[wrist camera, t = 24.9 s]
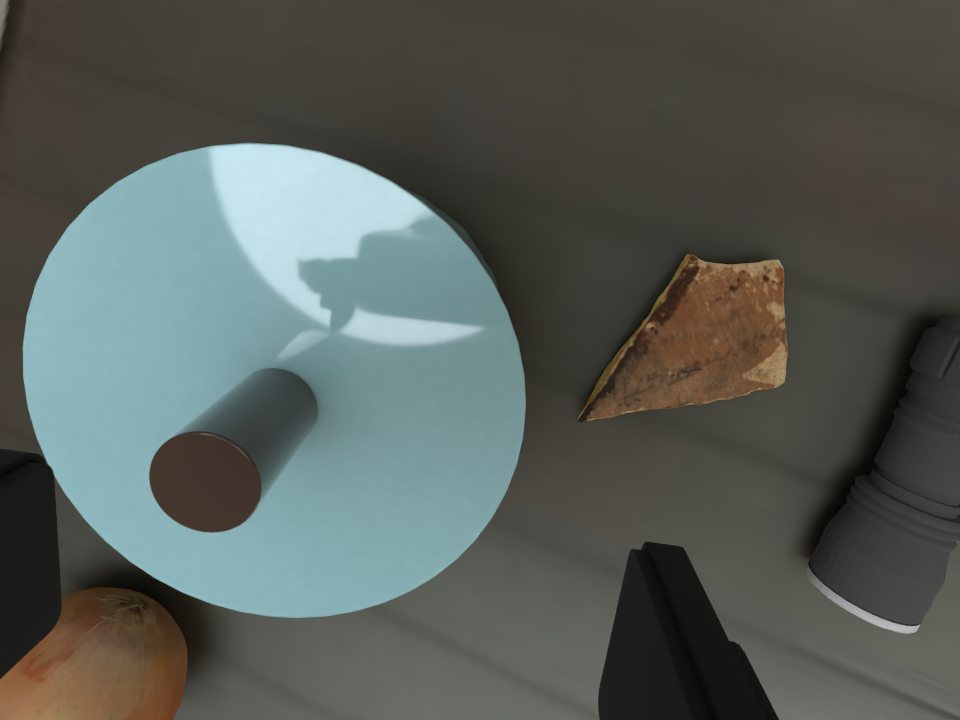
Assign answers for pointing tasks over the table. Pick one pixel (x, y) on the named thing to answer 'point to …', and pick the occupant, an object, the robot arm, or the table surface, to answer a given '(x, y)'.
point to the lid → (274, 380)
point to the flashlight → (902, 500)
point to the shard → (700, 341)
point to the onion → (101, 662)
